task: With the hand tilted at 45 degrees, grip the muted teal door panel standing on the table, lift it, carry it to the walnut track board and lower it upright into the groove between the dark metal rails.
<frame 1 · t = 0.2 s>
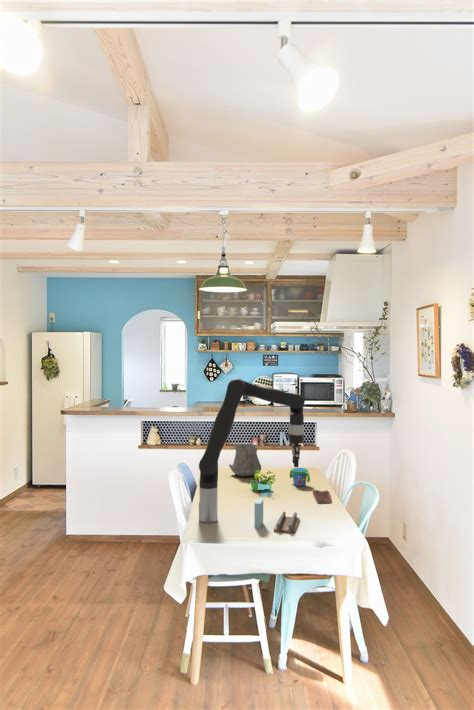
hand: (295, 465, 274), 29 cm above the table, tool pointing down, fingers open, 8 cm apart
vessel: (245, 475, 371), on the table
green potted plant: (260, 489, 335), on the table
door panel: (258, 525, 269), on the table
track board: (287, 525, 269), on the table
snack cup: (299, 485, 344), on the table
wooden tablet: (322, 498, 318), on the table
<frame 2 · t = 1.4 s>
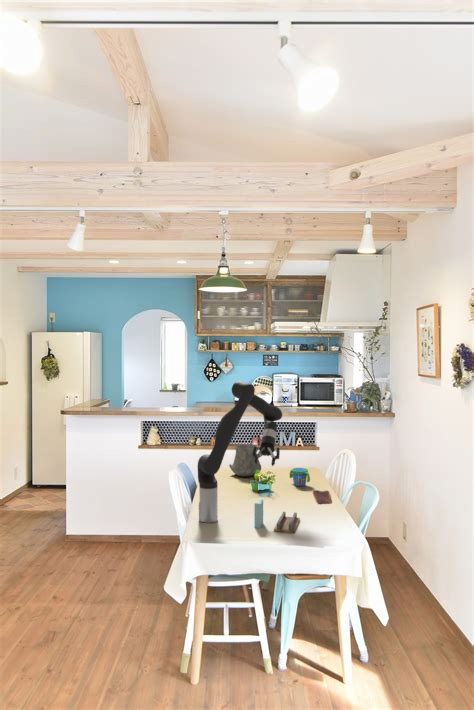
hand: (264, 464, 285), 27 cm above the table, tool tilted 45°, fingers open, 8 cm apart
nothing on the table moved.
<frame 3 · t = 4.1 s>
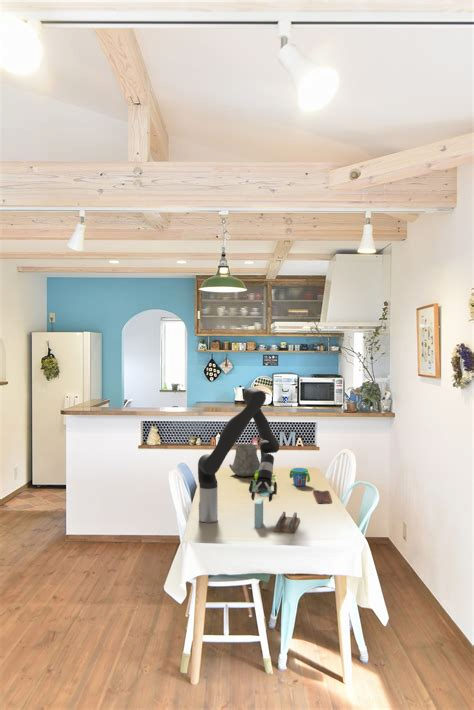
hand: (261, 500, 275), 11 cm above the table, tool tilted 45°, fingers open, 8 cm apart
nothing on the table moved.
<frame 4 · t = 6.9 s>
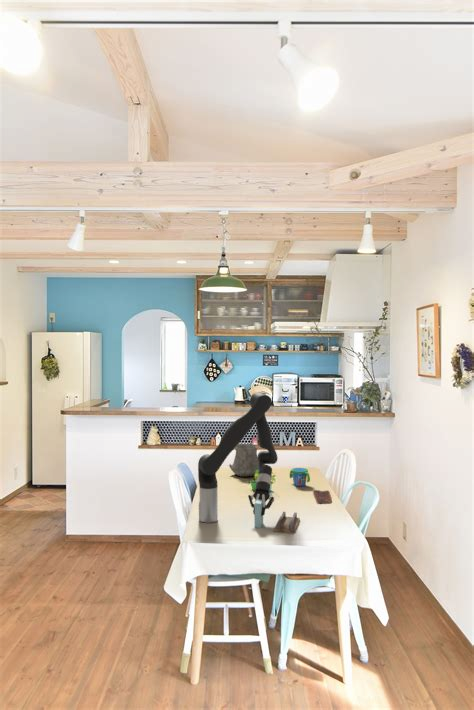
hand: (258, 514, 268), 5 cm above the table, tool tilted 45°, fingers closed on door panel, 3 cm apart
door panel: (258, 525, 269), on the table, touching gripper
everything else where it was.
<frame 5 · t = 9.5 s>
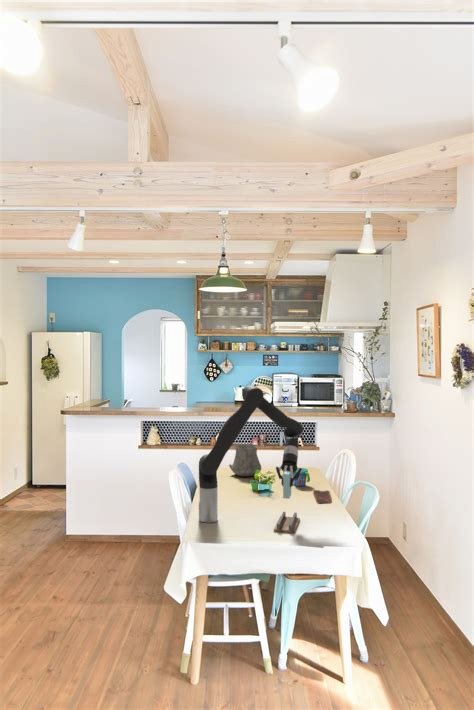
hand: (287, 486, 267), 20 cm above the table, tool tilted 45°, fingers closed on door panel, 3 cm apart
door panel: (287, 496, 269), point 15 cm above the table, touching gripper
everything else where it was.
when the fingers open (8 cm above the table, at t = 12.4 s): door panel drops 1 cm, resting on track board.
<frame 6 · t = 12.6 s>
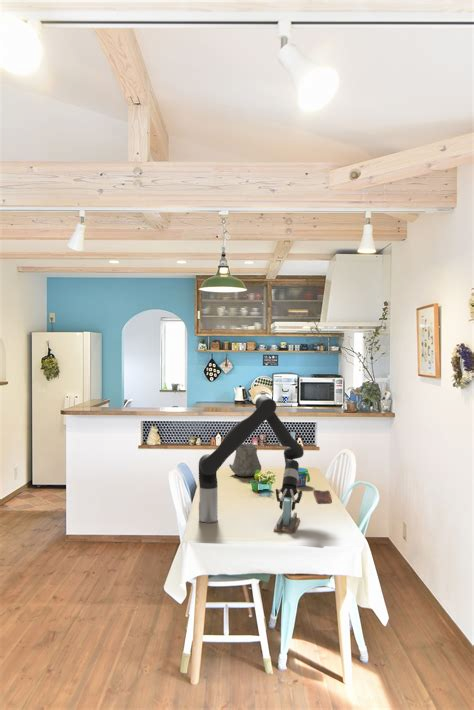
hand: (286, 509, 268), 8 cm above the table, tool tilted 45°, fingers open, 5 cm apart
door panel: (286, 523, 269), point 1 cm above the table, touching track board
everything else where it was.
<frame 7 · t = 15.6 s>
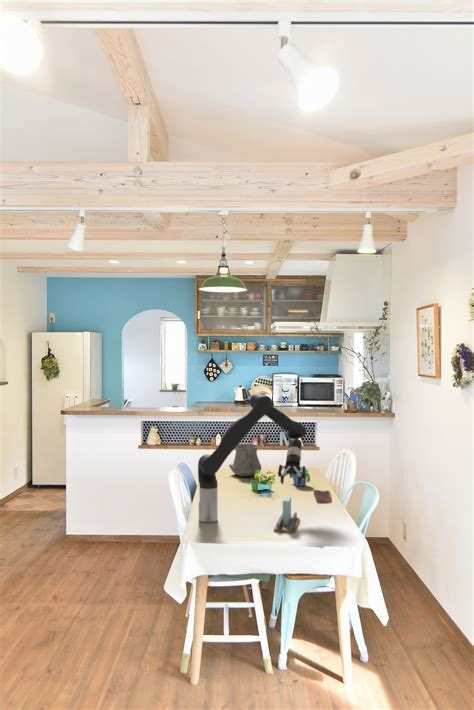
hand: (290, 483, 279), 18 cm above the table, tool tilted 45°, fingers open, 8 cm apart
nothing on the table moved.
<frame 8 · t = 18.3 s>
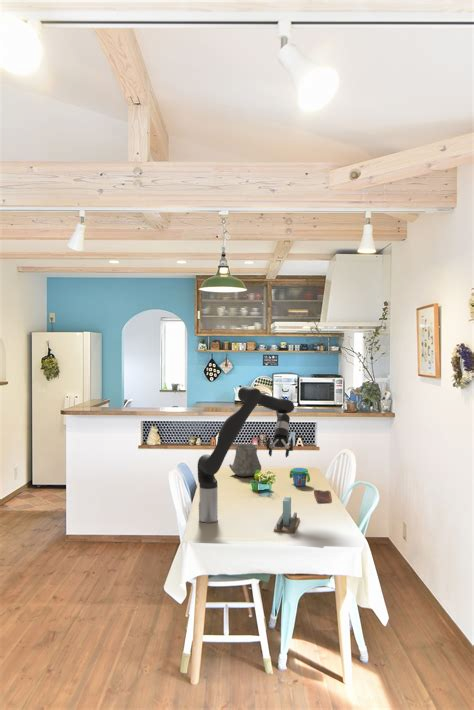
hand: (278, 456, 287), 31 cm above the table, tool tilted 45°, fingers open, 8 cm apart
nothing on the table moved.
at the end: door panel inside the target area on the track board (0.2 cm from its centre), point 1.2 cm above the track board's base; door panel tilted 0°; the gripper is holding nothing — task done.
